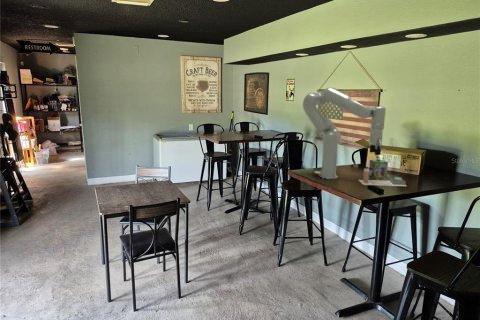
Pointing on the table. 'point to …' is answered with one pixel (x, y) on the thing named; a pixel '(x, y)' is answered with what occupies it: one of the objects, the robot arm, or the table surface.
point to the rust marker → (366, 175)
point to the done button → (397, 179)
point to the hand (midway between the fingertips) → (374, 153)
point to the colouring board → (384, 182)
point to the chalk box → (378, 168)
